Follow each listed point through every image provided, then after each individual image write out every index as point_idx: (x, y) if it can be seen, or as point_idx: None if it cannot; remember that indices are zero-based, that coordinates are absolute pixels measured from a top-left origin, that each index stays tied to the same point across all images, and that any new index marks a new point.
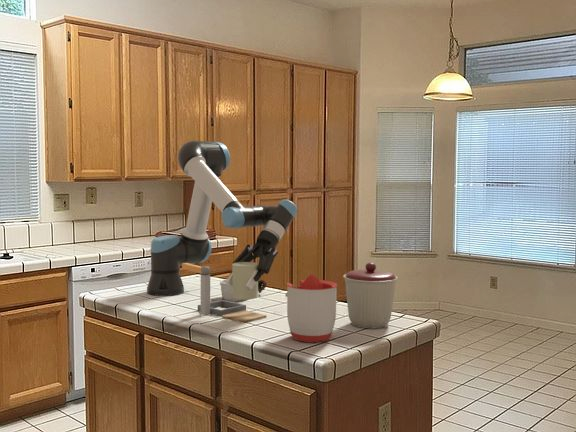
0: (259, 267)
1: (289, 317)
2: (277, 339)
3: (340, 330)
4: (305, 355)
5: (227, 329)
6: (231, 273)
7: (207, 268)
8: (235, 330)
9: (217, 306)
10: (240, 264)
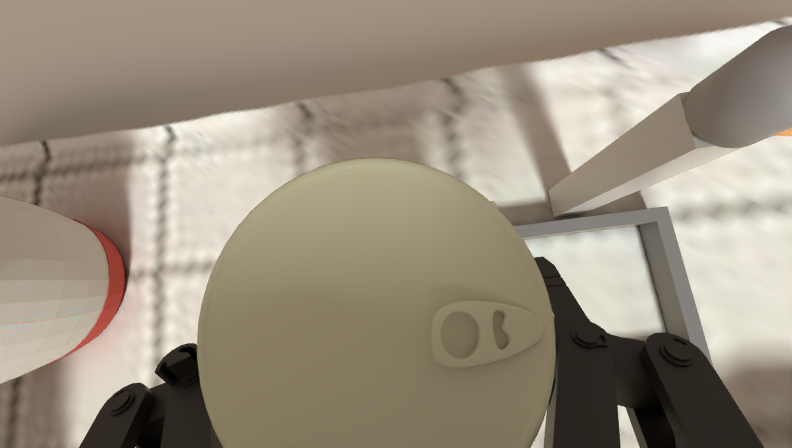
0: (156, 370)
1: (14, 200)
2: (139, 197)
3: (52, 440)
4: (6, 161)
5: (323, 144)
6: (545, 268)
7: (737, 73)
8: (297, 158)
9: (667, 324)
10: (388, 262)
